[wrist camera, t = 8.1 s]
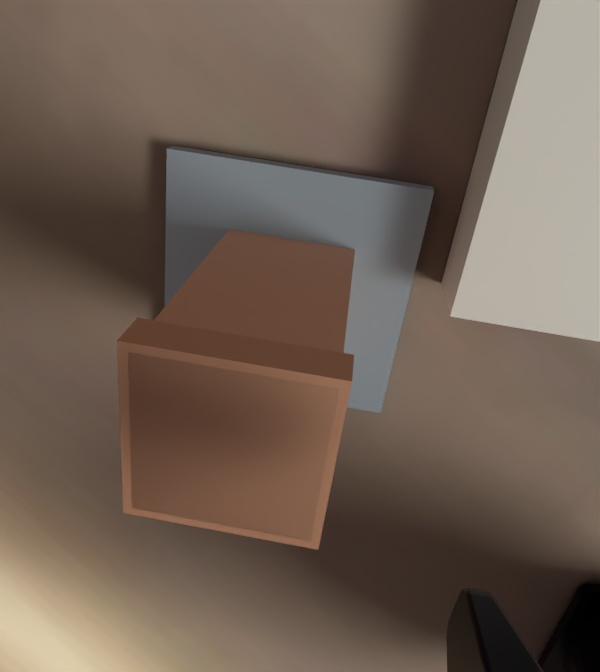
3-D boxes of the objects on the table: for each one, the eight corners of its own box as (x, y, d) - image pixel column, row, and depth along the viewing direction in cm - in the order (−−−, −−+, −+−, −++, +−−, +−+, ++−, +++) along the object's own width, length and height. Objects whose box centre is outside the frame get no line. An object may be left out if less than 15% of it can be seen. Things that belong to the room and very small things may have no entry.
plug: (340, 365, 19) (318, 549, 12) (215, 344, 19) (122, 512, 12) (362, 244, 17) (352, 381, 10) (223, 222, 17) (116, 340, 10)
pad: (380, 403, 20) (380, 413, 20) (169, 366, 21) (163, 374, 20) (432, 186, 17) (434, 190, 16) (173, 145, 17) (166, 148, 16)
